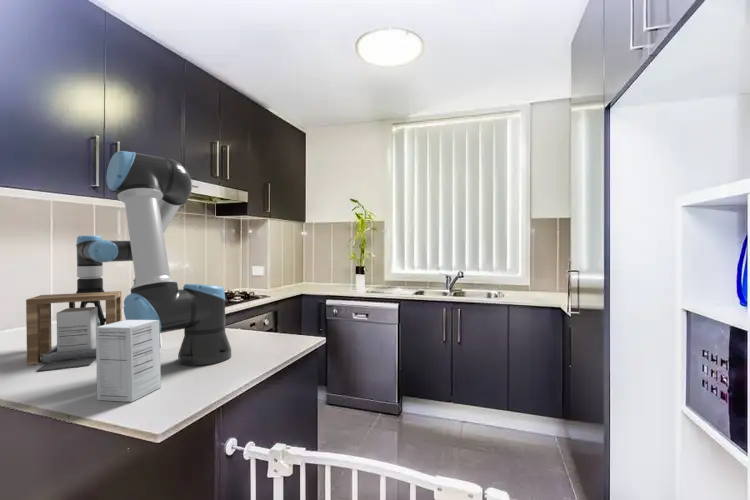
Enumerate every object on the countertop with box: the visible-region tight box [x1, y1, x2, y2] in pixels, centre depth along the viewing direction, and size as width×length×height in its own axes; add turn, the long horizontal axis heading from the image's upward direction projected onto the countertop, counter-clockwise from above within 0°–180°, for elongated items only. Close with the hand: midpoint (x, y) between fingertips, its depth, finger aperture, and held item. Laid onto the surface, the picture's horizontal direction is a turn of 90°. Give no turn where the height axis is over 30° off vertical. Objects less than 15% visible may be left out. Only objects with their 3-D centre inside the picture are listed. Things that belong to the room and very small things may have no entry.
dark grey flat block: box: [36, 357, 96, 373], centre depth 112 cm, size 8×12×1 cm, turn 116°
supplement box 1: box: [56, 306, 98, 352], centre depth 123 cm, size 9×9×15 cm
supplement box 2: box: [95, 319, 162, 403], centre depth 89 cm, size 10×9×17 cm
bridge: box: [25, 290, 123, 366], centre depth 123 cm, size 12×22×20 cm, turn 116°
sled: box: [42, 317, 100, 364], centre depth 128 cm, size 26×14×10 cm, turn 26°
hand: (90, 341), depth 138 cm, fingers closed on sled, 4 cm apart
